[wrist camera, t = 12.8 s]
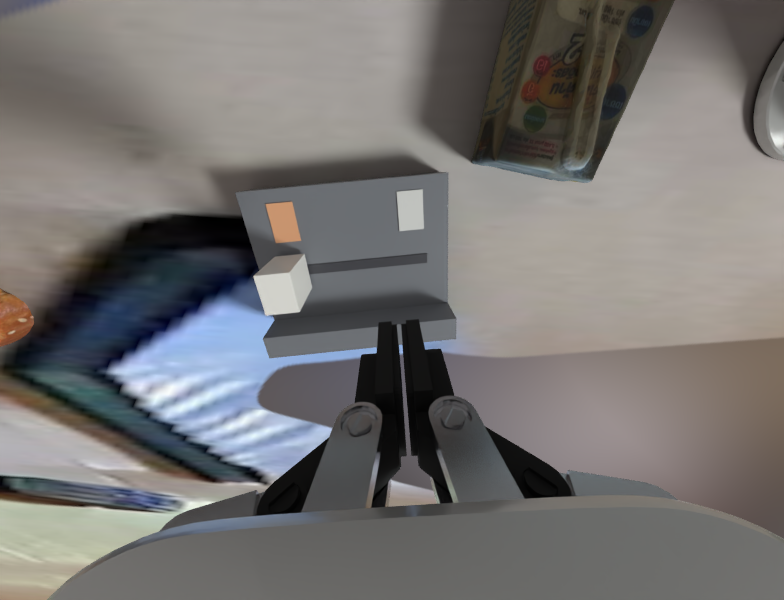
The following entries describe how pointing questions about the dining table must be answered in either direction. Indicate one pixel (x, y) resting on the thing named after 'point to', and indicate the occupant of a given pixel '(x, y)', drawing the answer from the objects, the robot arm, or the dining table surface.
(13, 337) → the bread slice
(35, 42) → the dining table surface
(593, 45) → the beverage carton
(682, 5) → the dining table surface
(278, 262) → the knob
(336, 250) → the grey slide switch panel
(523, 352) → the dining table surface
